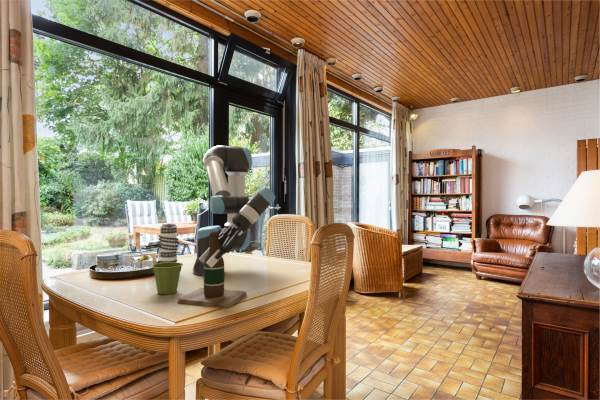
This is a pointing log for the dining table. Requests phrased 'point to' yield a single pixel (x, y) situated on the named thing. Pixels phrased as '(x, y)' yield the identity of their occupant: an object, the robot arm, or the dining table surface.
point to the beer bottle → (214, 270)
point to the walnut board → (222, 301)
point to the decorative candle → (168, 243)
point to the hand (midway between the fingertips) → (205, 263)
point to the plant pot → (167, 276)
